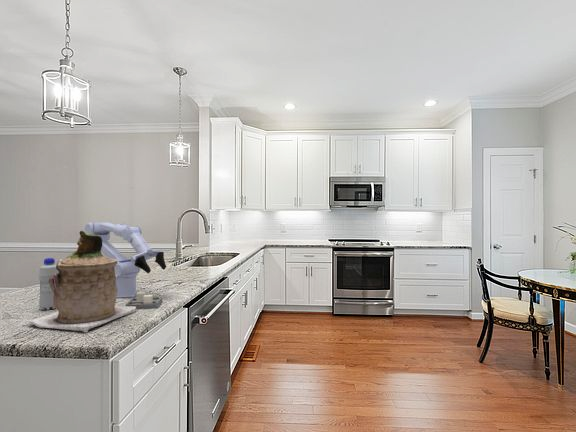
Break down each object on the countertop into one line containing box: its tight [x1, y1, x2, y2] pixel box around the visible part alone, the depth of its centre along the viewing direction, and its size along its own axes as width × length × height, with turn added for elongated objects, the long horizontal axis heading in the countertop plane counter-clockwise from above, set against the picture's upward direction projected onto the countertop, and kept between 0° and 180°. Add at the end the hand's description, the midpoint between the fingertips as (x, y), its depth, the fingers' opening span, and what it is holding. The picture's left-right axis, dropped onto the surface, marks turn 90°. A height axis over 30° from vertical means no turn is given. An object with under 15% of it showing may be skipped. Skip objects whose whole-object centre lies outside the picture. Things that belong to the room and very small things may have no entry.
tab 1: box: [136, 291, 147, 300], centre depth 132 cm, size 3×2×4 cm
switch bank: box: [125, 295, 163, 310], centre depth 129 cm, size 12×10×2 cm
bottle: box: [38, 257, 59, 311], centre depth 124 cm, size 7×7×20 cm
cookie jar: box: [26, 230, 137, 334], centre depth 113 cm, size 25×25×32 cm
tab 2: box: [143, 294, 154, 304], centre depth 127 cm, size 3×2×4 cm
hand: (157, 269), depth 135 cm, fingers open, 7 cm apart
